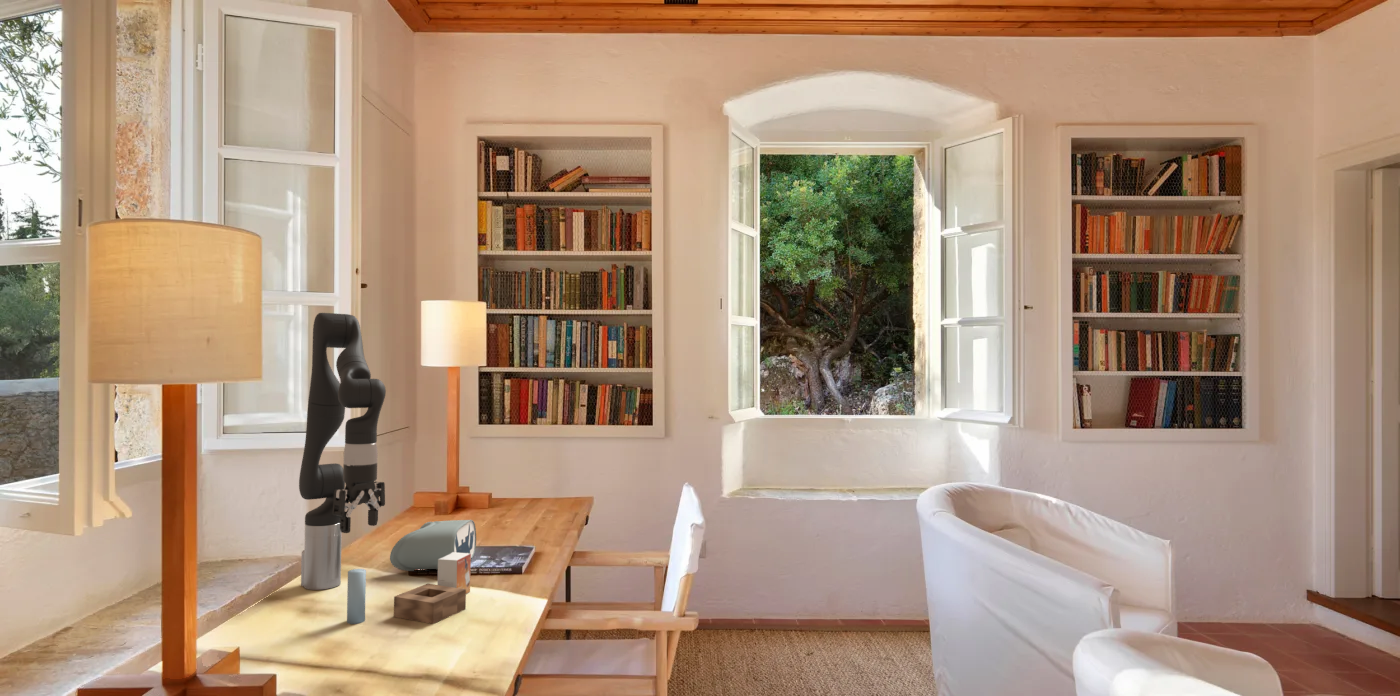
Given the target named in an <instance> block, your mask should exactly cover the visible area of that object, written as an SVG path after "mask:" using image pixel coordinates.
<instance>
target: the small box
mask: <svg viewBox="0 0 1400 696" xmlns="http://www.w3.org/2000/svg"><path fill="white" fill-rule="evenodd" d="M471 563H472V559H471V554H470V553H457V552H452V553H451V554H449V555H447V556H445V557H443V558H440V559H438V569H437V584H436V585H441V586H447V587H454V588H460V589H466V595H467V594H469V593H470V592H471V565H472V564H471Z"/></svg>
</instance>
